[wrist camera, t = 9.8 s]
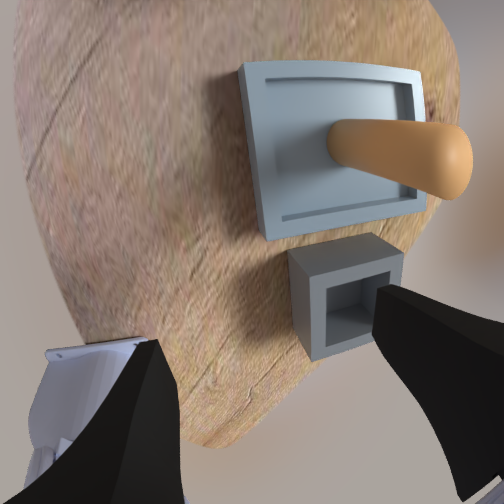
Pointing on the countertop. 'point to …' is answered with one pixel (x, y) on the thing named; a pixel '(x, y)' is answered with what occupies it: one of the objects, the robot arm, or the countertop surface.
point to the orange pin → (405, 153)
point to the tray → (321, 142)
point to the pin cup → (339, 291)
